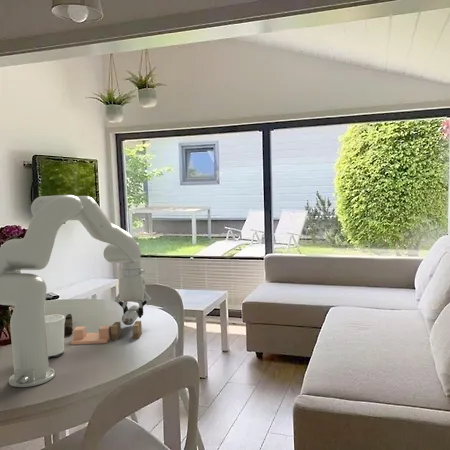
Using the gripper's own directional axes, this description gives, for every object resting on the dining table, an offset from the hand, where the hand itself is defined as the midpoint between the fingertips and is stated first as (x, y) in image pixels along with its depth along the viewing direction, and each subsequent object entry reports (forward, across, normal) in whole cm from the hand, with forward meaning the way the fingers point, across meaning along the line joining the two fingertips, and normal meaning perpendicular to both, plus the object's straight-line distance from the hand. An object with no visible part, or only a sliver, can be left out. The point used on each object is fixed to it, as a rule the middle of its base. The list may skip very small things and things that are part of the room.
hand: (133, 316), depth 185 cm
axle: (+1, 0, +3) cm, 3 cm away
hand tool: (+5, +27, +1) cm, 27 cm away
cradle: (+4, +12, +15) cm, 20 cm away
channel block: (+4, 0, +14) cm, 14 cm away
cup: (+5, +22, +30) cm, 37 cm away
